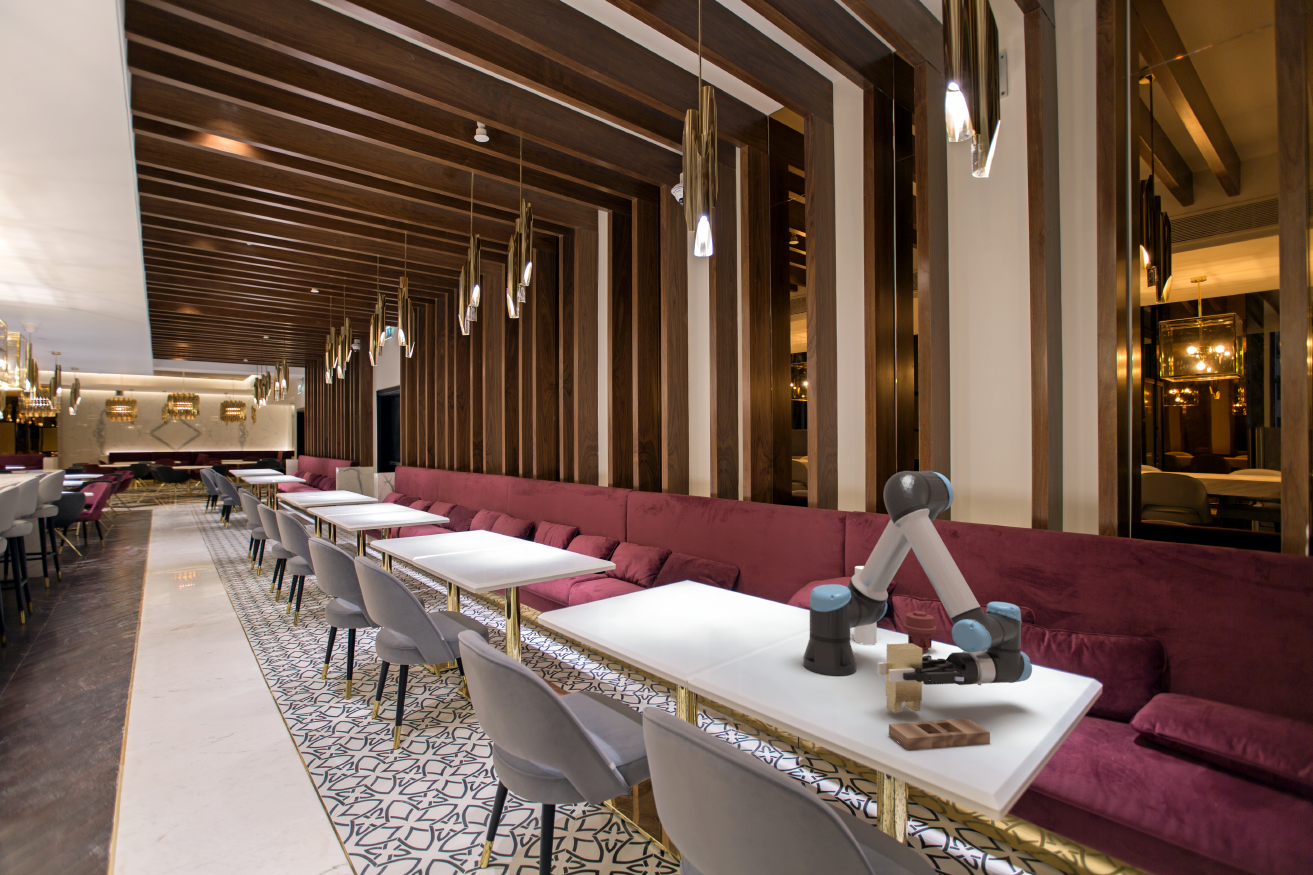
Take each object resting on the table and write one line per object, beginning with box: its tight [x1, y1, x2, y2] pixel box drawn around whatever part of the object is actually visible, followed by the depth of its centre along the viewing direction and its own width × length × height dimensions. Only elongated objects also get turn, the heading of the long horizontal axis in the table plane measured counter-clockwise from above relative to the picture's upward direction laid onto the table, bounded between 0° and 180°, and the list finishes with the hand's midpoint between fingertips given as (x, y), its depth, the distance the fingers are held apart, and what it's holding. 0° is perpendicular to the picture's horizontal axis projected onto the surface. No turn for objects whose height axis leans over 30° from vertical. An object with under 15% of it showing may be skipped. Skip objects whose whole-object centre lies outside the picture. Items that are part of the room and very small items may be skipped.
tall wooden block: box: [885, 642, 923, 713], centre depth 146 cm, size 7×4×15 cm, turn 101°
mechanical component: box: [902, 610, 938, 655], centre depth 197 cm, size 12×10×10 cm
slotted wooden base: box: [888, 718, 991, 751], centre depth 133 cm, size 20×7×2 cm, turn 101°
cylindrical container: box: [853, 565, 878, 645], centre depth 206 cm, size 7×7×25 cm
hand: (884, 672), depth 145 cm, fingers closed on tall wooden block, 4 cm apart
